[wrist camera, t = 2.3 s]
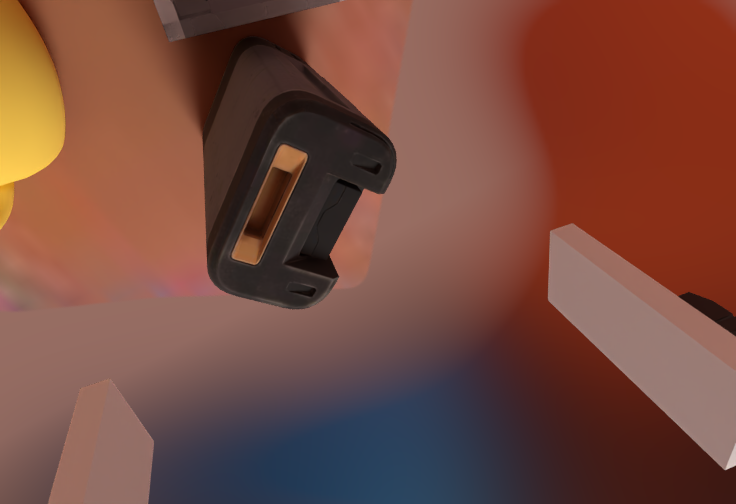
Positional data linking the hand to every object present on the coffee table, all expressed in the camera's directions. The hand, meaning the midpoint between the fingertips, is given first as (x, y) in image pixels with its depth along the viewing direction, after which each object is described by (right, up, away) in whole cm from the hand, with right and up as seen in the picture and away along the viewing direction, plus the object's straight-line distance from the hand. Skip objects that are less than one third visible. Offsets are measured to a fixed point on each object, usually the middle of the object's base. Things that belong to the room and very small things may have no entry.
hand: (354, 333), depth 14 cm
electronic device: (-8, +14, +23) cm, 28 cm away
